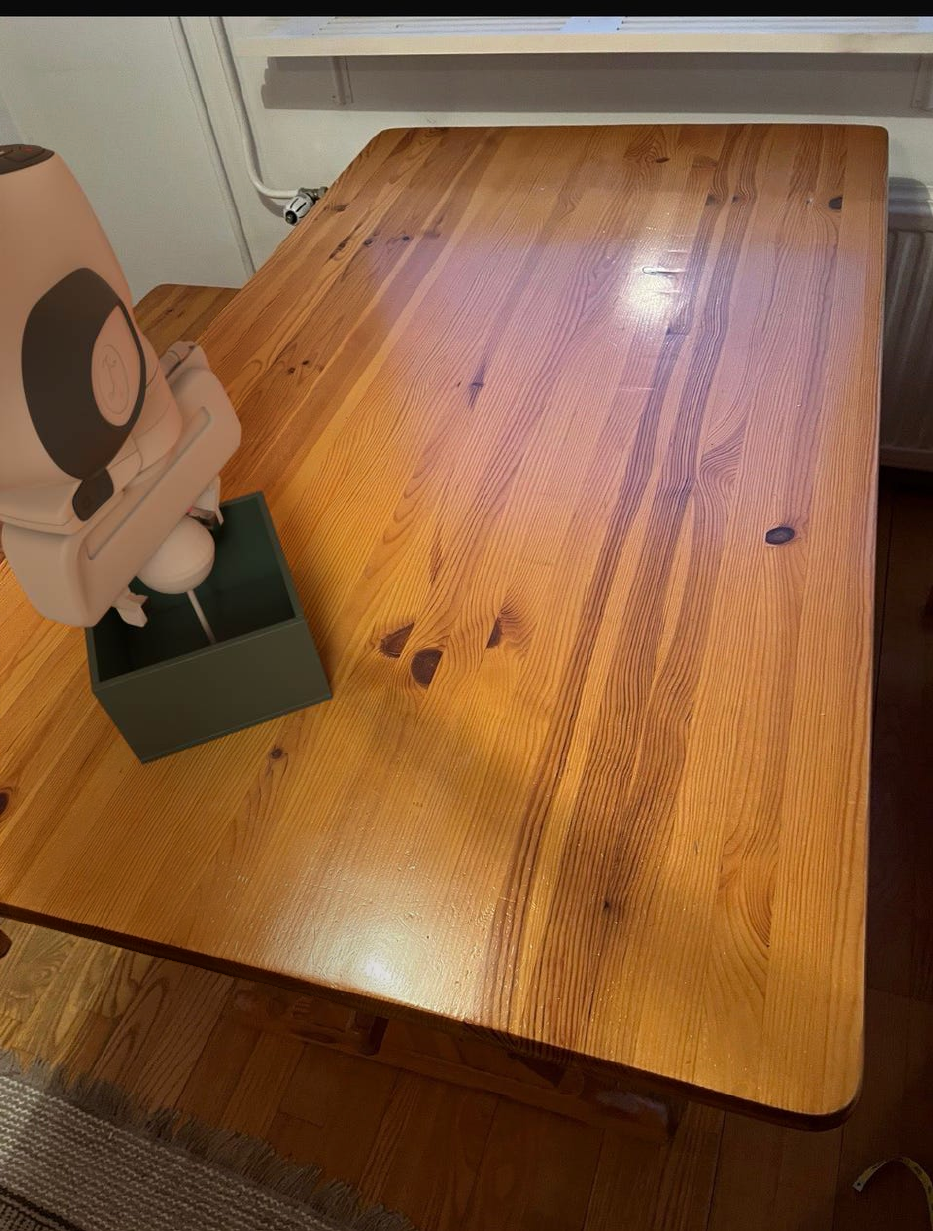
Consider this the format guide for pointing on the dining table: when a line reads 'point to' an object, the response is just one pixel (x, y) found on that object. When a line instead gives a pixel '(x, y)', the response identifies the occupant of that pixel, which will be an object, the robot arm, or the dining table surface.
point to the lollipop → (182, 564)
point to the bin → (211, 647)
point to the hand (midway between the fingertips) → (177, 571)
